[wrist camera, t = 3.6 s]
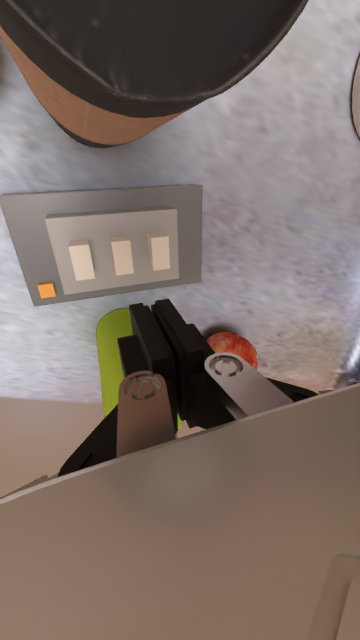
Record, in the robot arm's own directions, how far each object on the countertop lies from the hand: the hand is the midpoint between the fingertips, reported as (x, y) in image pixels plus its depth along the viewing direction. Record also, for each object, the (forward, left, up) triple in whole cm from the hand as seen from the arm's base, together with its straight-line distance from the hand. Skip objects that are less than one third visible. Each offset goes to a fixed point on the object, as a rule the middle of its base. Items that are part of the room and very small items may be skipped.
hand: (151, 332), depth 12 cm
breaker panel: (0, 0, -17) cm, 17 cm away
